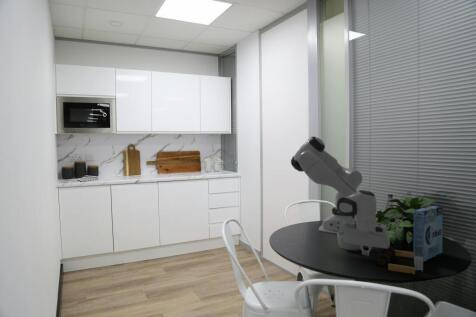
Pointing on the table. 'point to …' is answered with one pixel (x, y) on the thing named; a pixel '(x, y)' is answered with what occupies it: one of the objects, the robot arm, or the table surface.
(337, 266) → the table surface
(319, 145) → the robot arm
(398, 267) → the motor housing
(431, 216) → the light blue carton box
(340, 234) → the ramekin
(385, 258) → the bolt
